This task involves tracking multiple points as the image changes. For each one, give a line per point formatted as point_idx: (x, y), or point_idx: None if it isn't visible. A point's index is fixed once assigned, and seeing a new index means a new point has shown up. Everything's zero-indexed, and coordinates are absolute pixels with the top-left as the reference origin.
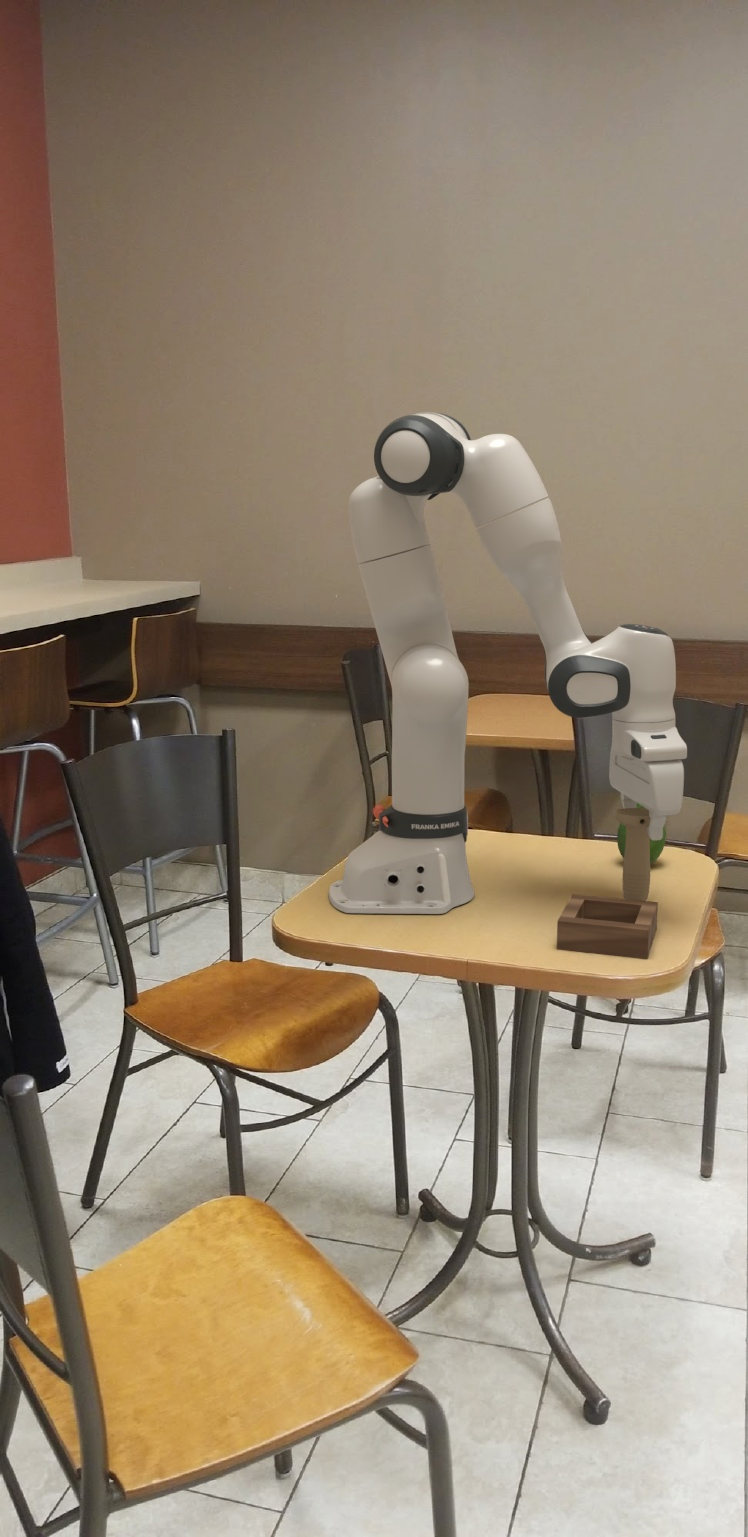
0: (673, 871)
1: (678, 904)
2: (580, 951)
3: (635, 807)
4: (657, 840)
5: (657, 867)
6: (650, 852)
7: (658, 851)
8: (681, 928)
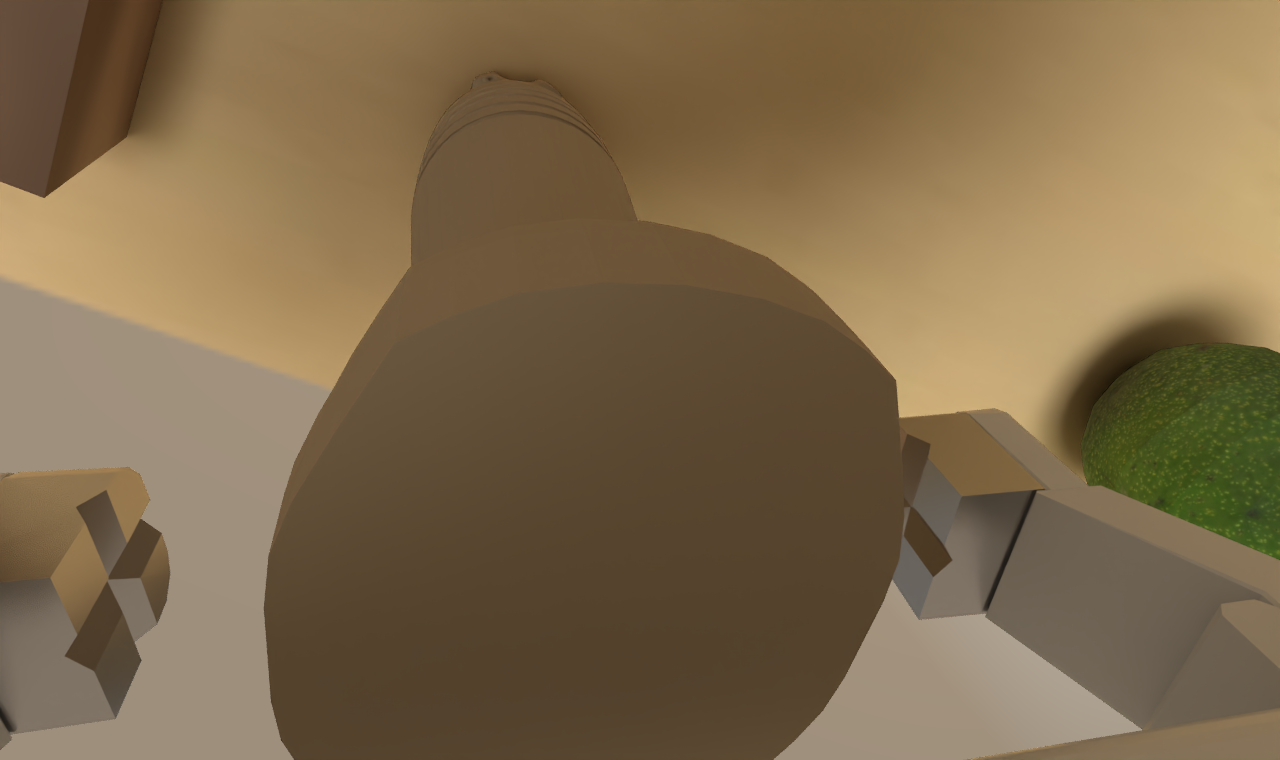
0: None
1: None
2: None
3: (1032, 631)
4: None
5: (1063, 451)
6: (1102, 465)
7: None
8: (159, 283)
